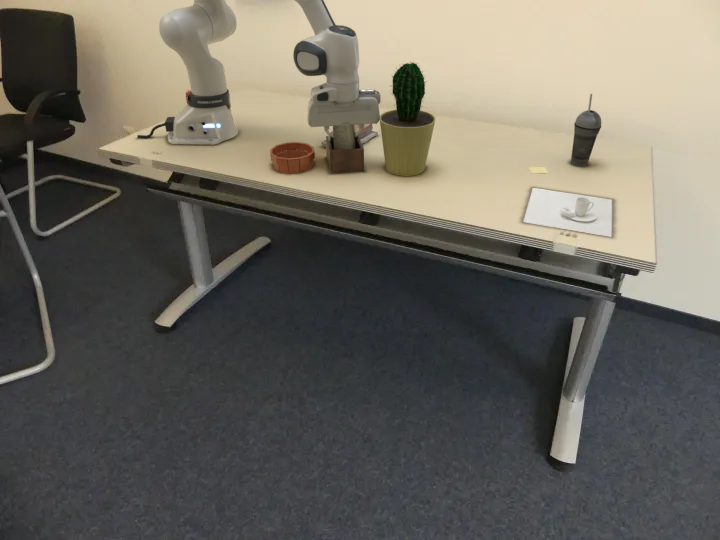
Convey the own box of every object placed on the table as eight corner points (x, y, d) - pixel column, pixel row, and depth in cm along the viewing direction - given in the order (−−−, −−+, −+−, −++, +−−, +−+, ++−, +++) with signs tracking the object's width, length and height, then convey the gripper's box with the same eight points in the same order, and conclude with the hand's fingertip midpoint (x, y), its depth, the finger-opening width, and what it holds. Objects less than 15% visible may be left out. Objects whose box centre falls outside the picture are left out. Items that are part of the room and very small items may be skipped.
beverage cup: (579, 170, 159) (595, 100, 148) (560, 161, 165) (574, 93, 153) (597, 165, 162) (614, 96, 151) (578, 156, 167) (594, 89, 156)
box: (355, 157, 163) (355, 120, 157) (349, 162, 160) (349, 125, 154) (339, 154, 165) (339, 117, 159) (333, 159, 162) (332, 122, 156)
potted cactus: (423, 155, 169) (430, 51, 152) (438, 176, 156) (447, 66, 139) (374, 159, 167) (375, 54, 150) (384, 181, 154) (387, 69, 137)
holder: (330, 173, 158) (329, 151, 154) (326, 157, 168) (325, 136, 164) (364, 171, 159) (364, 149, 156) (358, 155, 169) (358, 134, 165)
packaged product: (352, 115, 184) (378, 121, 180) (353, 129, 187) (378, 135, 183) (320, 132, 172) (346, 138, 168) (321, 146, 175) (347, 153, 170)
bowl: (271, 175, 157) (270, 160, 155) (271, 158, 168) (269, 143, 165) (316, 172, 159) (315, 157, 156) (313, 155, 169) (312, 140, 167)
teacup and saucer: (558, 219, 136) (561, 204, 133) (560, 204, 142) (563, 190, 140) (596, 225, 133) (600, 210, 131) (597, 210, 139) (601, 196, 137)
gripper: (378, 85, 155) (377, 133, 163) (305, 89, 153) (308, 137, 161) (382, 92, 150) (381, 141, 158) (306, 96, 148) (309, 145, 155)
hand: (344, 139), depth 159 cm, fingers closed on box, 6 cm apart
